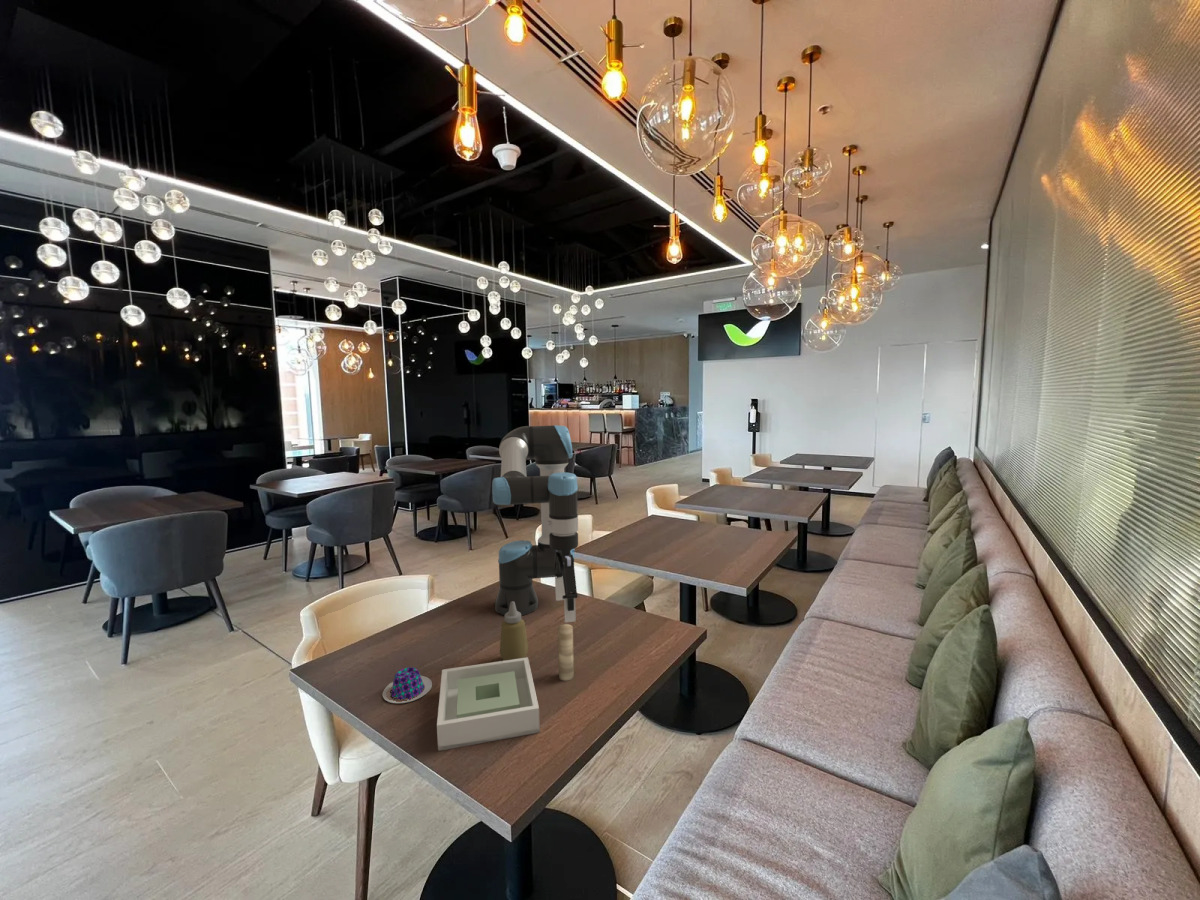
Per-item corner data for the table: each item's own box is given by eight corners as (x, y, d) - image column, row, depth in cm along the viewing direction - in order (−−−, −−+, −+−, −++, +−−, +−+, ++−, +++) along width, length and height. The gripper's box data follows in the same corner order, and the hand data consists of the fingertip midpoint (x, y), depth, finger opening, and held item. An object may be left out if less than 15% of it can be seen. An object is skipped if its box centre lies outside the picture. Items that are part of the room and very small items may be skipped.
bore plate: (458, 694, 125) (458, 679, 124) (514, 685, 128) (514, 671, 128) (457, 731, 112) (456, 714, 111) (520, 720, 115) (519, 704, 115)
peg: (557, 673, 135) (556, 625, 134) (572, 671, 136) (571, 623, 135) (560, 681, 132) (559, 632, 130) (575, 679, 133) (574, 630, 131)
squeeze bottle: (522, 671, 137) (520, 609, 134) (495, 668, 138) (493, 607, 136) (532, 656, 144) (530, 597, 142) (506, 653, 146) (504, 595, 144)
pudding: (415, 672, 137) (414, 655, 136) (441, 688, 130) (440, 669, 129) (373, 694, 127) (372, 675, 127) (399, 712, 120) (398, 692, 120)
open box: (443, 691, 128) (442, 669, 127) (528, 678, 133) (527, 657, 133) (438, 751, 107) (436, 725, 106) (539, 732, 112) (539, 708, 112)
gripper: (542, 521, 140) (544, 593, 142) (557, 547, 116) (559, 633, 118) (568, 519, 142) (569, 590, 144) (588, 545, 118) (589, 629, 120)
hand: (565, 610), depth 131 cm, fingers open, 13 cm apart
